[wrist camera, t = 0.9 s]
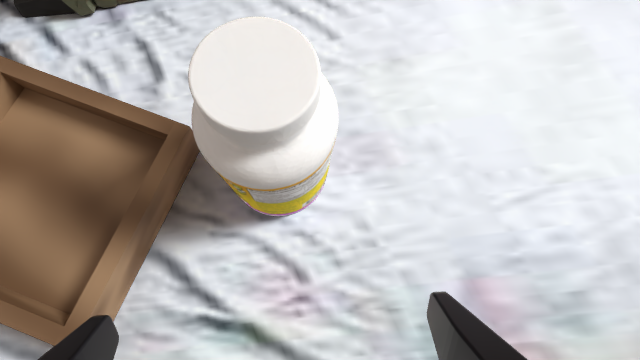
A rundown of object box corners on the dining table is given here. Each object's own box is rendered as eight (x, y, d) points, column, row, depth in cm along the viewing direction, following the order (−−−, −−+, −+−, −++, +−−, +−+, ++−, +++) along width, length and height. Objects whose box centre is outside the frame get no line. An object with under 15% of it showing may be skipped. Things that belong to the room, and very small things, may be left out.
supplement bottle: (229, 135, 25) (154, -1, 12) (318, 124, 25) (332, -17, 13) (237, 225, 23) (161, 172, 11) (333, 211, 24) (364, 145, 11)
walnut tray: (102, 341, 21) (70, 352, 18) (-95, 259, 22) (-157, 257, 19) (203, 143, 25) (189, 126, 22) (31, 79, 25) (-5, 54, 22)
